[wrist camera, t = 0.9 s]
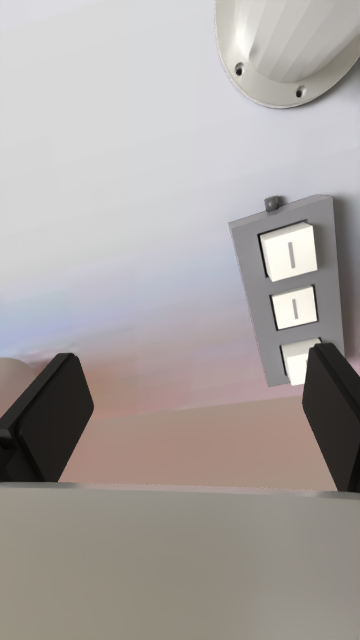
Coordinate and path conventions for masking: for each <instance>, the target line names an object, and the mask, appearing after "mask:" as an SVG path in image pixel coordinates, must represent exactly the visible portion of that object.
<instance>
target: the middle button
mask: <svg viewBox="0 0 360 640" xmlns="http://www.w3.org/2000/svg"><path fill="white" fill-rule="evenodd" d="M269 297H270V302H271V307H272V312H273V317H274V320H275V322H276V325H277V327H278V329H282V328H287V327H291V326H296V325H300V324H304V323H309V322H313V321H317V318H316V310H315V302H314V293H313V287H312V286H311V285H306V286H303V287H299V288H295V289H291V290H287V291H283V292H279V293H275V294H271V295H269Z"/></svg>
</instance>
